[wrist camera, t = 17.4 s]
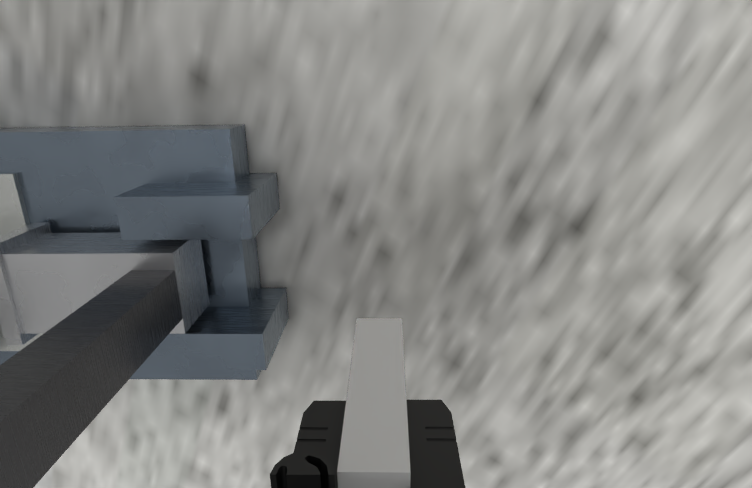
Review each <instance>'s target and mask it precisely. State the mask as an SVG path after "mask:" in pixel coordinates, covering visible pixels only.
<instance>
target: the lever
mask: <svg viewBox="0 0 752 488" xmlns="http://www.w3.org/2000/svg"><path fill="white" fill-rule="evenodd" d="M209 304H210V303H209V296H208V289H207V282H206V275H205V267H204V260H203V253H202V246H201V240H122V237H121V232H113V233H52V232H51V228H50V223H49V222H40V223H32V224H29V225H27V226H24V227H22V228H19V229H16V230H14V231H11V232H9V233H6V234H4V235H1V236H0V325H1V328H2V332H3V335H4V339H5V342H6V345H23V344H25V343H26V342H28V341H29V340H30V339H32V338H33V337H35V336H36V335H37V334H43V335H41V336H40V337H38V338H37V339H36V340H34V341H33V342H31V343H30V344H29V345H27V346H26V347H25V348H23V349H22V350H20V351H19V352H18V353H16V354H15V355H14V356H12V357H11V358H9V359H8V360H7V361H5V362H4V363H2V364H1V365H0V488H33V487H34V486H35V485H36V484H37V483H38V481H39V480H40V479H41V478H42V477H43V476H44V475H45V474H46V472H47V471H48V470H49V469H50V468H51V467H52V466H53V464H54V463H55V462H56V461H57V460H58V459H59V458H60V457H61V455H62V454H63V453H64V452H65V451H66V450H67V449H68V448H69V446H70V445H71V444H72V443H73V442H74V441H75V440H76V438H77V437H78V436H79V435H80V434H81V433H82V432H83V431H84V429H85V428H86V427H87V426H88V425H89V424H90V423H91V421H92V420H93V419H94V418H95V417H96V416H97V415H98V414H99V412H100V411H101V410H102V409H103V408H104V407H105V406H106V405H107V403H108V402H109V401H110V400H111V399H112V398H113V397H114V395H115V394H116V393H117V392H118V391H119V390H120V389H121V388H122V386H123V385H124V384H125V383H126V382H127V381H128V380H129V379H130V377H131V376H132V375H133V374H134V373H135V372H136V371H137V369H138V368H139V367H140V366H141V365H142V364H143V363H144V362H145V360H146V359H147V358H148V357H149V356H150V355H151V354H152V353H153V351H154V350H155V349H156V348H157V347H158V346H159V345H160V343H161V342H162V341H163V340H164V339H165V338H166V337H167V336H168V334H185V333H186V332H187V331H188V330H189V328H190V327H191V326H192V325H193V324H194V322H195V321H196V320H197V319H198V317H199V316H200V315H201V314H202V313H203V311H204V310H205V309H206V308H207V306H208V305H209Z"/></svg>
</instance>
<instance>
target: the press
mask: <svg viewBox="0 0 752 488" xmlns="http://www.w3.org/2000/svg"><path fill="white" fill-rule="evenodd" d="M279 209H280V208H279V196H278V184H277V173H249V165H248V155H247V145H246V135H245V125H181V126H115V127H49V128H0V236H1V235H4V234H6V233H9V232H11V231H14V230H16V229H19V228H22V227H24V226H27V225H29V224H32V223H40V222H49V223H50V228H51V232H52V233H113V232H121V237H122V240H201V246H202V253H203V260H204V267H205V275H206V282H207V289H208V296H209V303H210V304H209V305H208V306H207V308H206V309H205V310H204V311H203V313H202V314H201V315H200V316H199V317H198V319H197V320H196V321H195V322H194V324H193V325H192V326H191V327H190V328H189V330H188V331H187V332H186V333H185V334H168V336H167V337H166V338H165V339H164V340H163V341H162V342H161V343H160V345H159V346H158V347H157V348H156V349H155V350H154V351H153V353H152V354H151V355H150V356H149V357H148V358H147V359H146V360H145V362H144V363H143V364H142V365H141V366H140V367H139V368H138V369H137V371H136V372H135V373H134V374H133V375H132V376H131V377H130V379H241V380H257V379H258V377H259V374H260V372H261V370H266V369H267V367H268V364H269V362H270V360H271V358H272V355H273V353H274V351H275V348H276V346H277V344H278V342H279V339H280V337H281V335H282V332H283V330H284V328H285V326H286V323H287V321H288V319H289V316H288V304H287V292H286V288H261V284H260V274H259V264H258V254H257V244H256V235H257V234H258V233H259V231H260V230H261V229H262V228H263V227H264V226H265V225H266V224H267V222H268V221H269V220H270V219H271V218H272V217H273V216H274V215H275V213H276V212H277V211H278V210H279ZM41 335H43V334H37V335H36V336H35V337H33V338H32V339H30V340H29V341H28V342H26V343H25V344H23V345H6V342H5V339H4V335H3V332H2V328H1V325H0V365H1V364H2V363H4V362H5V361H7V360H8V359H9V358H11V357H12V356H14V355H15V354H16V353H18V352H19V351H20V350H22V349H23V348H25V347H26V346H27V345H29V344H30V343H31V342H33V341H34V340H36V339H37V338H38V337H40V336H41Z"/></svg>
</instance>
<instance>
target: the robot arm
mask: <svg viewBox="0 0 752 488" xmlns="http://www.w3.org/2000/svg"><path fill="white" fill-rule="evenodd" d="M270 480H271V488H465V485H464V479H463V474H462V469H461V463H460V458H459V452H458V447H457V442H456V436H455V431H454V425H453V420H452V414H451V412H450V410H449V409H448V408H447V407H446V405H445V404H444V403H443V402H442V400H406V382H405V364H404V346H403V328H402V318H357V320H356V328H355V336H354V343H353V351H352V359H351V367H350V375H349V383H348V390H347V398H346V401H313V403H312V404H311V405H310V406H309V407H308V408H307V410H306V411H305V412H304V413H303V417H302V421H301V425H300V430H299V433H298V437H297V442H296V445H295V449H294V453H293V454H291V455H288V456H286V457H284V458H283V459H282V460H280V461H279V462H278V463H277V464H276V465H275V466H274V468H273V470H272V472H271V474H270Z"/></svg>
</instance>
